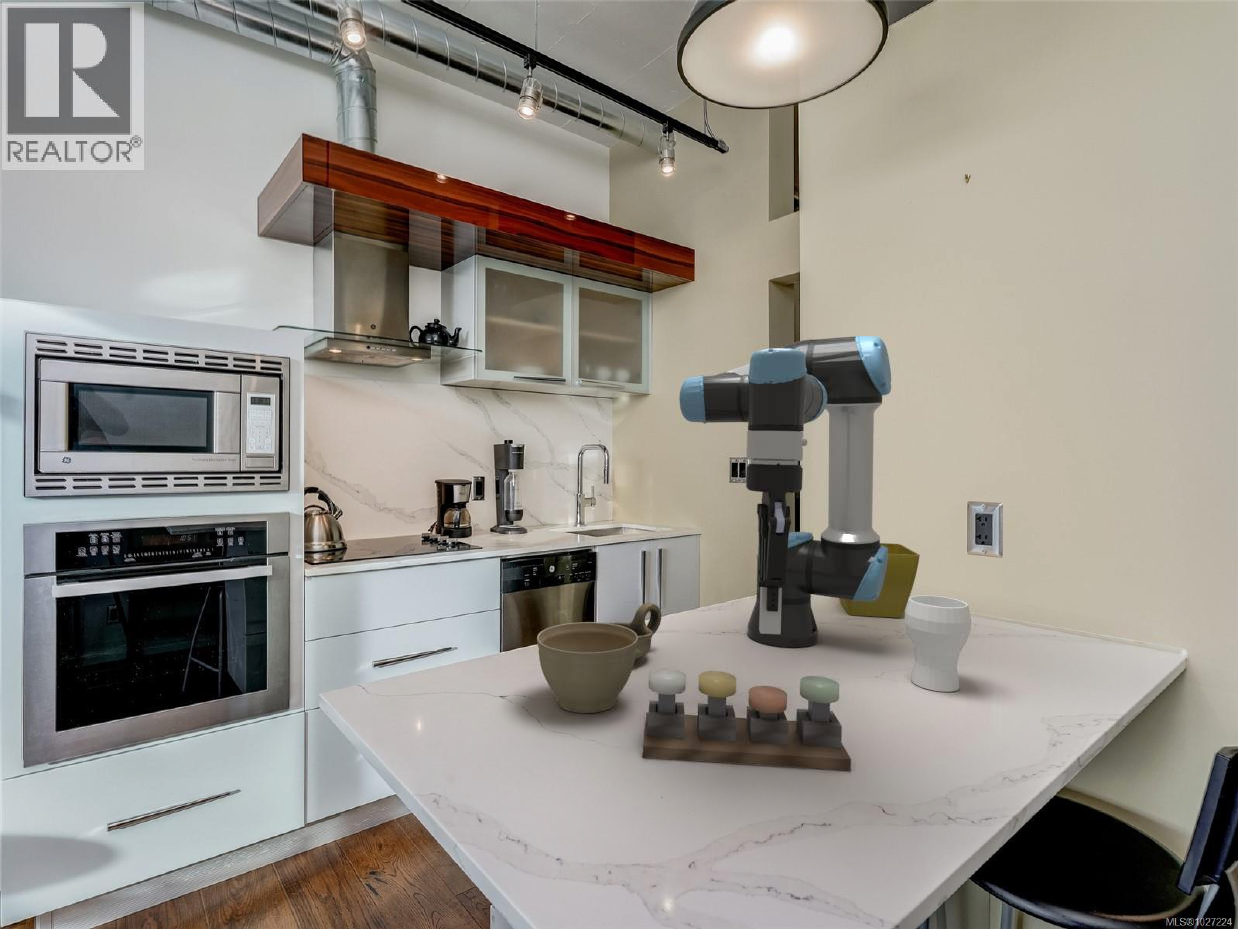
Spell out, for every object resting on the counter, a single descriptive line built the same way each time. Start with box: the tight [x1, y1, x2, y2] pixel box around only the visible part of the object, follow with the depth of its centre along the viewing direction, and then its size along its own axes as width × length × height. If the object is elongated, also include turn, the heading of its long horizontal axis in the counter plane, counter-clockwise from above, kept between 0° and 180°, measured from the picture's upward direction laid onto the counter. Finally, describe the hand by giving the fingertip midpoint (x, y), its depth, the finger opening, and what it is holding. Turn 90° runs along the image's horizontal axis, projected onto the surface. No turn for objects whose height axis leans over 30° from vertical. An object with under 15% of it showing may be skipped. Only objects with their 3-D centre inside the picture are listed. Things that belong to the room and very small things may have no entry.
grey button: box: [648, 667, 687, 713], centre depth 90 cm, size 5×5×5 cm
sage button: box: [799, 675, 841, 722], centre depth 88 cm, size 5×5×5 cm
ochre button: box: [698, 670, 737, 716], centre depth 89 cm, size 5×5×5 cm
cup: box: [904, 594, 972, 693], centre depth 114 cm, size 11×11×15 cm
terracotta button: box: [748, 685, 788, 719], centre depth 89 cm, size 5×5×5 cm
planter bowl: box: [536, 621, 638, 714], centre depth 103 cm, size 16×16×11 cm
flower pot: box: [838, 542, 920, 619], centre depth 166 cm, size 19×19×17 cm
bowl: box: [608, 602, 662, 660], centre depth 125 cm, size 14×18×10 cm
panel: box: [642, 700, 852, 771], centre depth 89 cm, size 27×11×4 cm, turn 85°
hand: (769, 632), depth 89 cm, fingers closed
